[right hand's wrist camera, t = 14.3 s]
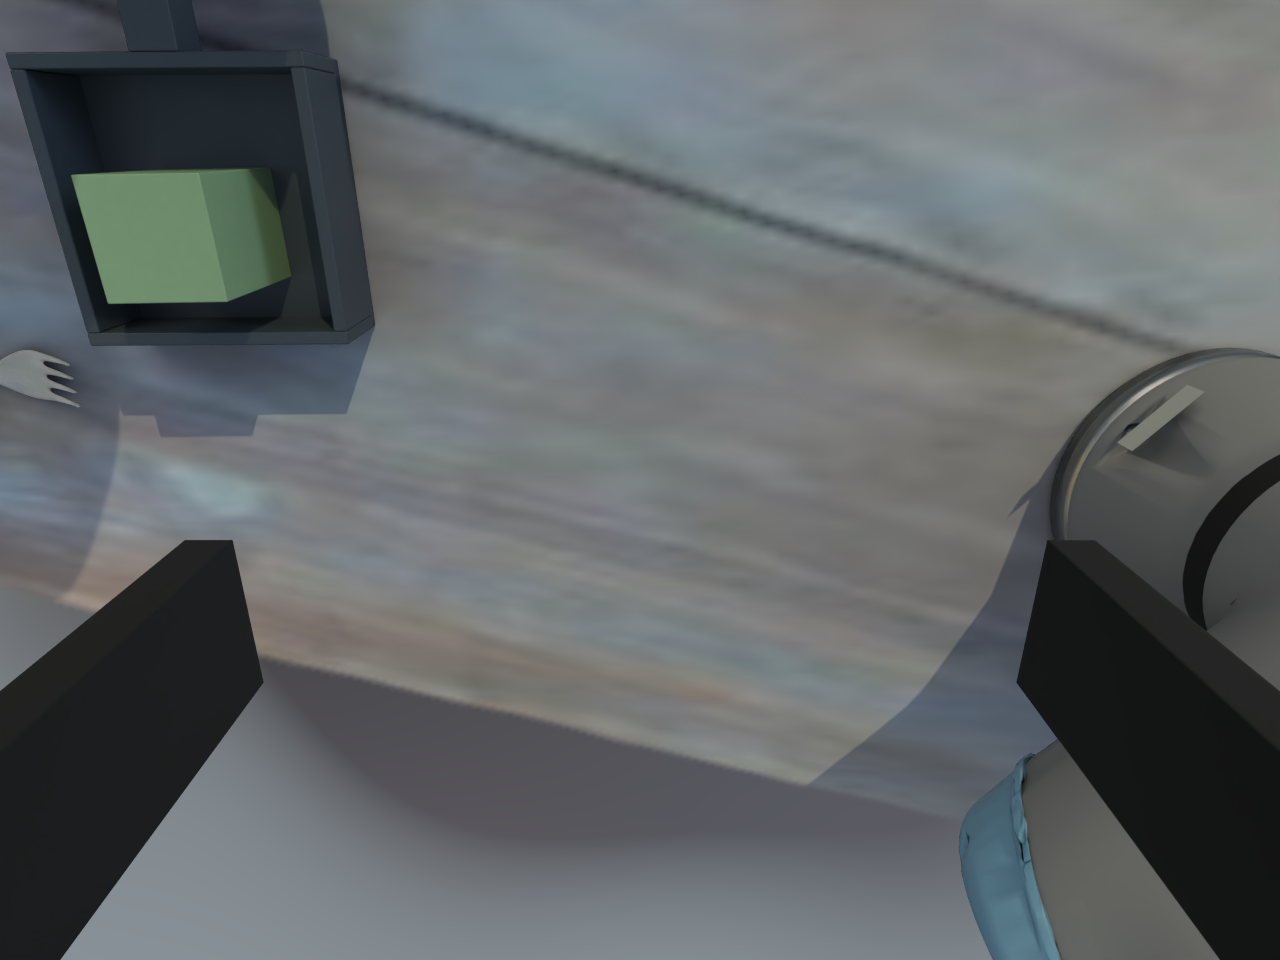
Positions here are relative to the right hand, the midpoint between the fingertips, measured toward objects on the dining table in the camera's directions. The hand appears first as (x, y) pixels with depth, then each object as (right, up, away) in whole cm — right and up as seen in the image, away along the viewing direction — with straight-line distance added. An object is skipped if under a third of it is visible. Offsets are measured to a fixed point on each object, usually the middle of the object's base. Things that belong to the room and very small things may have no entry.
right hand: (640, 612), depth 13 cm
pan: (-20, +22, +22) cm, 36 cm away
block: (-20, +14, +24) cm, 34 cm away
